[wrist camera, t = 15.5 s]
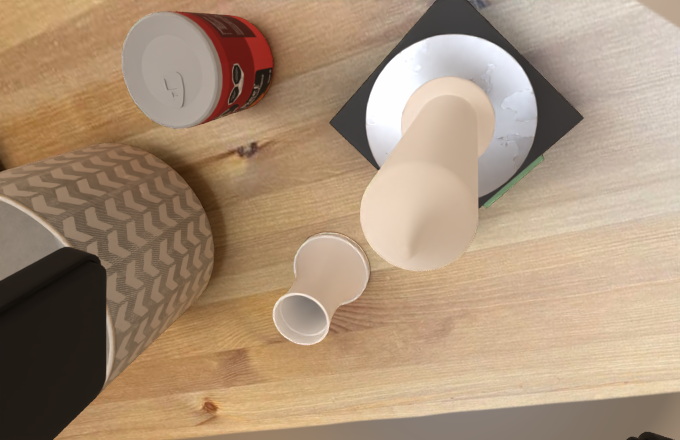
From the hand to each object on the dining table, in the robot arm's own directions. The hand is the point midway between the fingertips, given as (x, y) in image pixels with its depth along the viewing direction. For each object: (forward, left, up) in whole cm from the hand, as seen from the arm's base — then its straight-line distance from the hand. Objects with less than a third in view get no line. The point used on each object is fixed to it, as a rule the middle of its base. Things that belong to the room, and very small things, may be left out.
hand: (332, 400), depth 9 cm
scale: (+1, 0, -36) cm, 36 cm away
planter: (+19, -27, -37) cm, 49 cm away
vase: (+18, -7, -37) cm, 41 cm away
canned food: (0, -19, -37) cm, 41 cm away
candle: (+1, 0, -33) cm, 33 cm away
